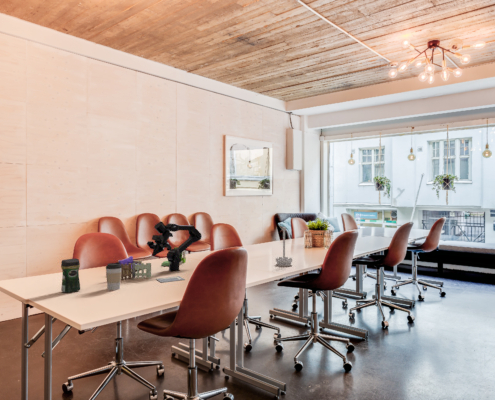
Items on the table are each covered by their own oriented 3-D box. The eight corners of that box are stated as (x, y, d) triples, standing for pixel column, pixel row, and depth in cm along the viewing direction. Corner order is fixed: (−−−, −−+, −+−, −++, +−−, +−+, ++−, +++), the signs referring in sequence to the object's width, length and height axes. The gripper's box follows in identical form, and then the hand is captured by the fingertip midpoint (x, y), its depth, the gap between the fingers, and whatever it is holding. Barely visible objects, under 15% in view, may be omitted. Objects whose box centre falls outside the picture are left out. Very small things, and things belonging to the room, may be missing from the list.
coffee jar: (76, 288, 226) (76, 257, 226) (81, 291, 220) (81, 258, 220) (59, 291, 219) (59, 259, 219) (64, 294, 214) (64, 260, 213)
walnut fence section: (130, 278, 254) (130, 263, 254) (131, 278, 253) (131, 263, 253) (112, 280, 248) (112, 264, 248) (113, 280, 247) (113, 265, 247)
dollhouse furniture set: (160, 266, 295) (160, 252, 295) (171, 260, 324) (171, 247, 324) (179, 267, 294) (179, 252, 294) (188, 260, 323) (188, 247, 322)
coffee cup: (112, 291, 220) (112, 265, 220) (102, 289, 225) (102, 263, 224) (125, 288, 228) (125, 262, 227) (115, 286, 232) (114, 261, 232)
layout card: (179, 276, 259) (179, 276, 259) (184, 279, 250) (184, 279, 250) (155, 279, 251) (155, 278, 251) (160, 282, 242) (160, 282, 242)
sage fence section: (131, 277, 253) (131, 263, 253) (132, 277, 255) (132, 262, 255) (150, 277, 253) (150, 263, 253) (151, 277, 255) (151, 262, 255)
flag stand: (293, 266, 297) (293, 227, 296) (276, 266, 297) (276, 227, 296) (291, 263, 310) (291, 226, 309) (275, 263, 310) (275, 226, 309)
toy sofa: (128, 275, 263) (128, 260, 262) (116, 275, 264) (116, 260, 264) (142, 269, 283) (142, 255, 283) (131, 269, 285) (131, 255, 285)
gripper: (148, 229, 272) (136, 247, 262) (168, 231, 262) (157, 249, 253) (156, 239, 279) (145, 257, 269) (176, 241, 269) (165, 259, 260)
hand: (153, 255), depth 263 cm, fingers closed
